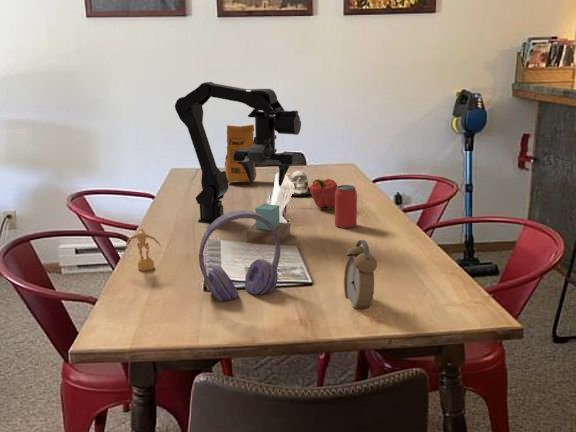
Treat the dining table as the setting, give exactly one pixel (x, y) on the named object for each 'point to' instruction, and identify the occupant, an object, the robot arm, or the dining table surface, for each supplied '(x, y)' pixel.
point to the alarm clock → (359, 275)
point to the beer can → (345, 206)
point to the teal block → (268, 216)
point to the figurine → (144, 262)
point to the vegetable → (324, 192)
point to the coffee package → (236, 140)
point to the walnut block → (268, 234)
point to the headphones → (259, 272)
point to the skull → (300, 183)
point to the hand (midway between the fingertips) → (265, 184)
